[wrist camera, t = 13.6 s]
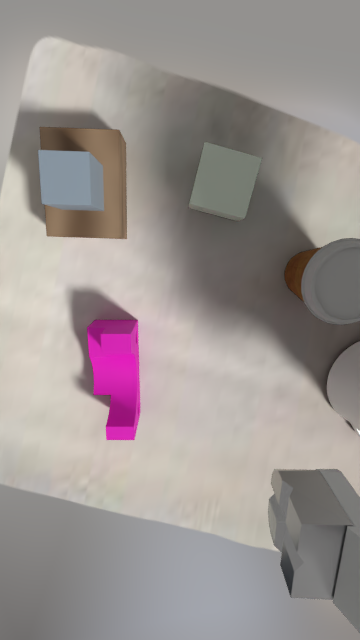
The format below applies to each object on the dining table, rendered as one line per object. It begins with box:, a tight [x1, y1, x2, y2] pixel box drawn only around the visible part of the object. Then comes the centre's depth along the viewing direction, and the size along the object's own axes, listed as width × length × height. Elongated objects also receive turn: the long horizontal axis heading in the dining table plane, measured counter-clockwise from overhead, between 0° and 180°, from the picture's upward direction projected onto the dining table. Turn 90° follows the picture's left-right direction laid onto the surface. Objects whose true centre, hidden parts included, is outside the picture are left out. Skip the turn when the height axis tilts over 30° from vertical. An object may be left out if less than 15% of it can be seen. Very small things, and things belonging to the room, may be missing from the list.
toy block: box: [87, 320, 140, 440], centre depth 45 cm, size 15×6×8 cm, turn 0°
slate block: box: [38, 150, 104, 211], centre depth 35 cm, size 5×5×6 cm
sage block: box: [188, 142, 262, 221], centre depth 40 cm, size 7×7×5 cm
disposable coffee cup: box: [285, 238, 360, 325], centre depth 40 cm, size 10×10×12 cm
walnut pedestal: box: [40, 127, 127, 239], centre depth 40 cm, size 9×12×5 cm
